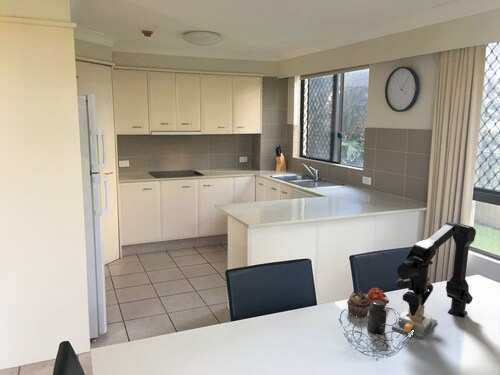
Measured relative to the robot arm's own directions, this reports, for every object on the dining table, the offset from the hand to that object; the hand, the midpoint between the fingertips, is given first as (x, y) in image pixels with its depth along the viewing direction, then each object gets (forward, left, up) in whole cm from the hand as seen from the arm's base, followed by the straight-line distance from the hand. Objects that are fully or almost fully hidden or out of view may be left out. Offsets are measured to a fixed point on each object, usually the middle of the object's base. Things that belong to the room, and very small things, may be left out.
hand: (416, 312), depth 172 cm
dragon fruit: (-7, -19, -6) cm, 21 cm away
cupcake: (+6, -22, -6) cm, 24 cm away
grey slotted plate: (0, 0, -6) cm, 6 cm away
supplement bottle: (+15, -10, -6) cm, 19 cm away
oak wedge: (0, 0, -5) cm, 5 cm away
